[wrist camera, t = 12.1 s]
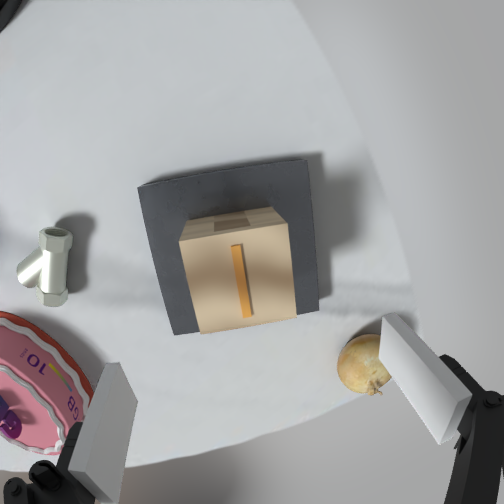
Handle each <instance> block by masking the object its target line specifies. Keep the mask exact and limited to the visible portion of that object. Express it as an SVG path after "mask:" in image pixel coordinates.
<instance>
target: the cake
mask: <svg viewBox="0 0 504 504" xmlns="http://www.w3.org/2000/svg"><path fill="white" fill-rule="evenodd" d="M93 395H94V393H93V390H92V388H91V385H90V383H89V382H88V380H87V378H86V376H85V375H84V373H83V372H82V370H81V369H80V367H79V366H78V365H77V363H76V362H75V361H74V360H73V359H72V357H71V356H70V355H69V354H68V353H67V352H66V351H65V350H64V349H63V348H62V347H61V346H60V345H59V344H58V343H57V342H56V341H55V340H54V339H52V338H51V337H50V336H49V335H48V334H46V333H45V332H44V331H42V330H41V329H39V328H38V327H36V326H35V325H33V324H32V323H30V322H28V321H26V320H25V319H23V318H20V317H18V316H16V315H13V314H10V313H7V312H2V311H0V435H1V436H2V437H3V438H5V439H6V440H7V441H8V442H10V443H12V444H15V445H17V446H19V447H21V448H23V449H25V450H27V451H32V452H35V453H39V454H44V455H58V454H60V453H61V451H62V448H63V447H64V442H65V440H66V437H67V434H68V431H69V429H70V428H71V427H72V426H73V424H74V423H75V422H84V419H85V416H86V414H87V411H88V408H89V406H90V403H91V400H92V398H93Z"/></svg>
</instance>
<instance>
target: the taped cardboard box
mask: <svg viewBox="0 0 504 504" xmlns="http://www.w3.org/2000/svg"><path fill="white" fill-rule="evenodd" d="M179 245H180V250H181V254H182V259H183V264H184V268H185V272H186V277H187V281H188V285H189V289H190V294H191V298H192V302H193V306H194V310H195V314H196V318H197V322H198V326H199V330H200V333H201V334H207V333H213V332H220V331H226V330H232V329H238V328H244V327H250V326H255V325H261V324H266V323H272V322H277V321H282V320H287V319H292V318H297V314H296V303H295V292H294V281H293V271H292V261H291V251H290V242H289V233H288V224H287V222H286V221H285V220H284V219H283V218H282V217H281V216H280V215H279V214H278V213H277V212H276V211H275V210H274V209H273V208H272V207H265V208H258V209H252V210H246V211H240V212H234V213H228V214H222V215H216V216H210V217H204V218H198V219H193V220H187V221H186V224H185V227H184V229H183V232H182V234H181V237H180V239H179Z"/></svg>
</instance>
